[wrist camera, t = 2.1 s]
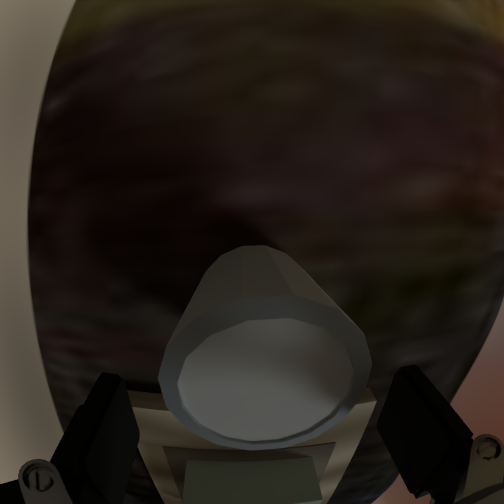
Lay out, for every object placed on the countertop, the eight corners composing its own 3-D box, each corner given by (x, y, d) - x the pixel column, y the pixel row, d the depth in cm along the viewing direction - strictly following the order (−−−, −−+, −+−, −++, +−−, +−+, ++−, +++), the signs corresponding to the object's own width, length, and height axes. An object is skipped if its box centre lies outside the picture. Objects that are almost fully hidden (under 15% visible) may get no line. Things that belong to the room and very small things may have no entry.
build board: (127, 390, 17) (121, 406, 15) (368, 386, 18) (377, 401, 16) (170, 501, 22) (169, 512, 20) (321, 497, 23) (323, 509, 21)
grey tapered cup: (302, 357, 16) (333, 451, 10) (182, 343, 16) (159, 442, 9) (334, 243, 15) (404, 308, 8) (195, 221, 14) (159, 277, 7)
